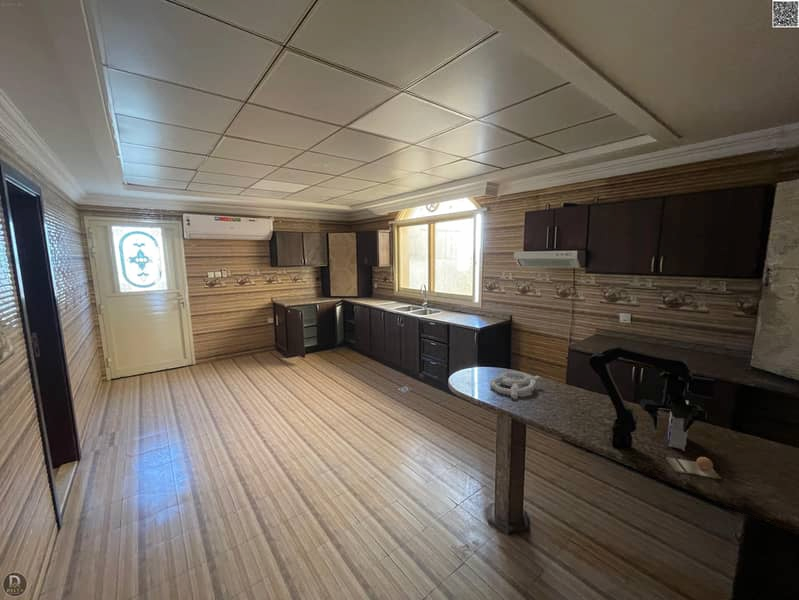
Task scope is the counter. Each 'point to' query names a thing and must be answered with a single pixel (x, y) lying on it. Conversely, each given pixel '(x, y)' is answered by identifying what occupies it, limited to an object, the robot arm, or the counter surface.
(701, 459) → the ball
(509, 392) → the pretzel
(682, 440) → the candy box
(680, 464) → the board
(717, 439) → the counter surface
